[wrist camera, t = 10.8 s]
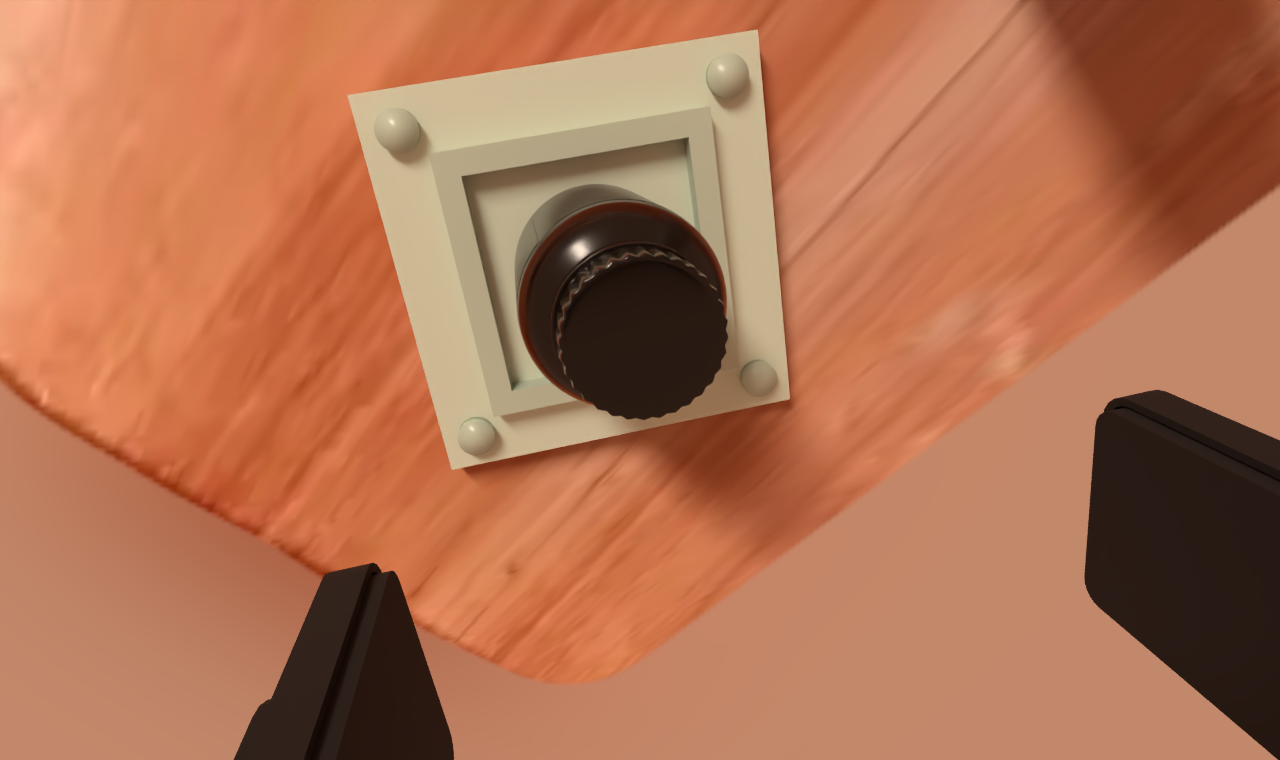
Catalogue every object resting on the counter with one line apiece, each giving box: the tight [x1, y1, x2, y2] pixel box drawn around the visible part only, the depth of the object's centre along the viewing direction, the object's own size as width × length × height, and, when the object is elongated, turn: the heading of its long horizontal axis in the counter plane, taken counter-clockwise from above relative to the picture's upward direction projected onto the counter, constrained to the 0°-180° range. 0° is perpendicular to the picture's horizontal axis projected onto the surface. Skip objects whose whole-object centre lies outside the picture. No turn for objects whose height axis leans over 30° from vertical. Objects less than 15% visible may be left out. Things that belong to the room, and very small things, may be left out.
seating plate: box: [348, 30, 790, 470], centre depth 31 cm, size 16×16×2 cm
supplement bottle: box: [515, 184, 728, 420], centre depth 25 cm, size 7×7×12 cm
